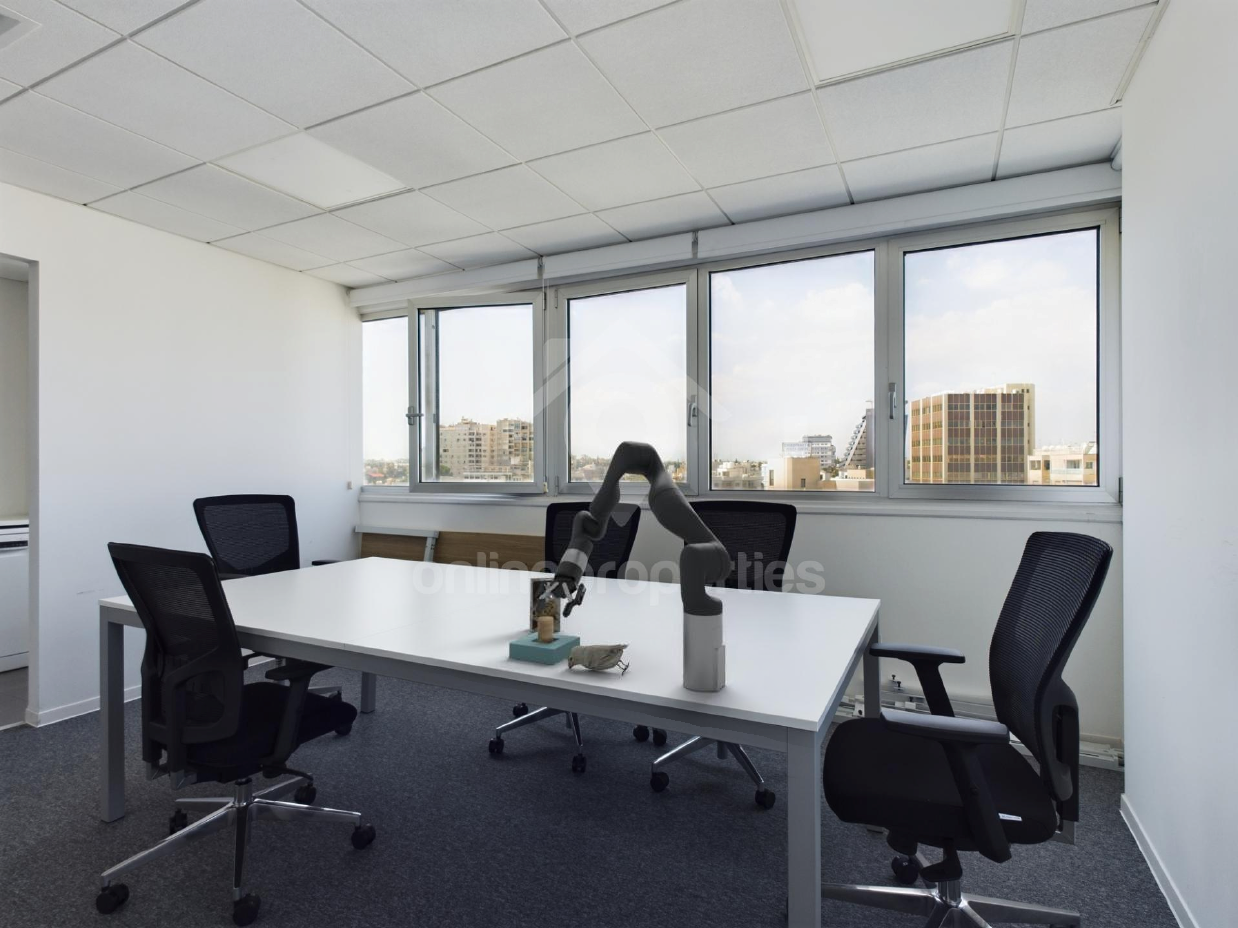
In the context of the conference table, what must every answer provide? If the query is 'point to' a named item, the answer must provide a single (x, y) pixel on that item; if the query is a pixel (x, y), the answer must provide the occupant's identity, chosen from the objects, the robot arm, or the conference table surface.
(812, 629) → the conference table surface
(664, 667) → the conference table surface
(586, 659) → the decorative bird
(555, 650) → the socket block
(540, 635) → the peg
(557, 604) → the coffee box
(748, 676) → the conference table surface
